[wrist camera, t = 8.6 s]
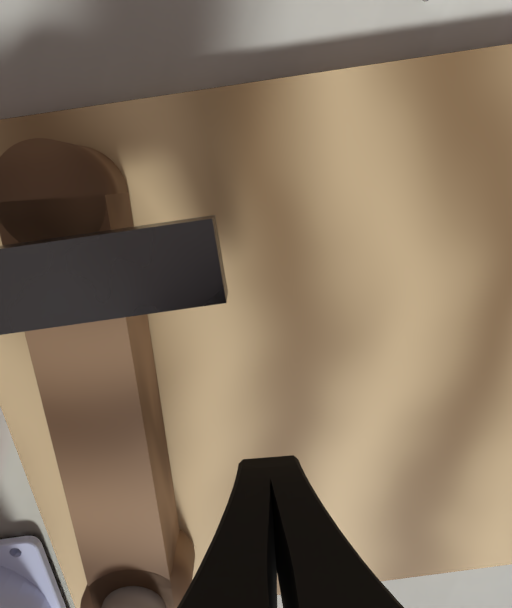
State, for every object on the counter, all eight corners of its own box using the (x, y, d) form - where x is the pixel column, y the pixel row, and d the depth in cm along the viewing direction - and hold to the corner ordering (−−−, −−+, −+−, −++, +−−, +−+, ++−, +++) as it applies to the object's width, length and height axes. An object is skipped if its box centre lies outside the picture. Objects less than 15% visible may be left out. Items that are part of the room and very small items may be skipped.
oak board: (88, 599, 20) (80, 620, 19) (-76, 137, 13) (-101, 134, 12) (520, 542, 19) (534, 561, 18) (556, 44, 13) (580, 33, 12)
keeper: (-14, 294, 15) (-152, 356, 10) (-32, 241, 14) (-191, 276, 9) (232, 259, 15) (226, 302, 10) (223, 204, 14) (212, 218, 9)
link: (199, 586, 18) (190, 673, 15) (110, 593, 18) (81, 681, 15) (137, 141, 12) (100, 128, 9) (7, 149, 12) (-73, 139, 9)
